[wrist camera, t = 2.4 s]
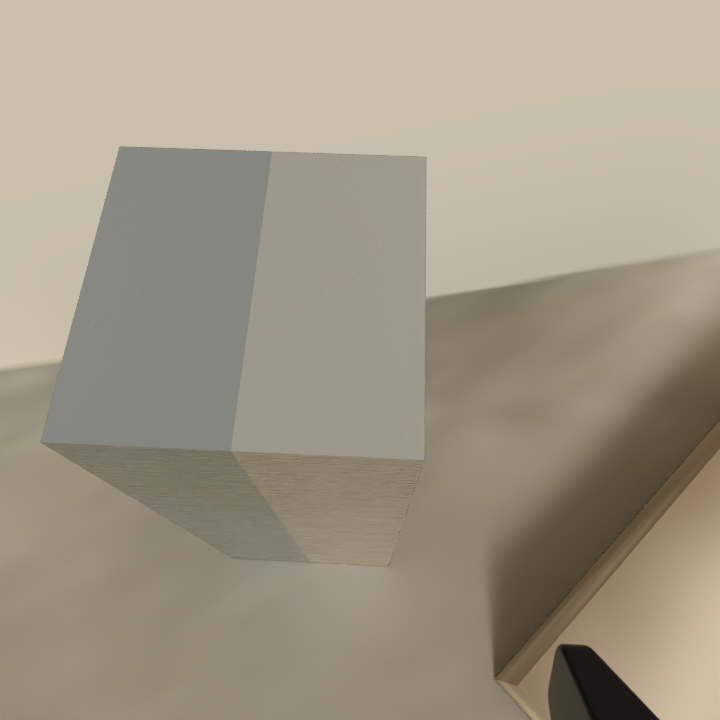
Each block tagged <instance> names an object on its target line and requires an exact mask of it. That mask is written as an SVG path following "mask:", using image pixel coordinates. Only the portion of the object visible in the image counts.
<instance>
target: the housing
mask: <svg viewBox="0 0 720 720" xmlns="http://www.w3.org/2000/svg"><path fill="white" fill-rule="evenodd" d="M425 284H426V157H415V156H386V155H355V154H327V153H296V152H267V151H238V150H209V149H206V150H205V149H179V148H178V149H177V148H150V147H119V151H118V155H117V159H116V162H115V166H114V170H113V174H112V177H111V181H110V185H109V188H108V192H107V196H106V199H105V203H104V207H103V211H102V214H101V218H100V222H99V226H98V230H97V233H96V237H95V240H94V244H93V248H92V252H91V256H90V259H89V263H88V266H87V270H86V274H85V278H84V281H83V285H82V289H81V293H80V296H79V300H78V304H77V308H76V311H75V315H74V318H73V322H72V326H71V330H70V333H69V337H68V341H67V345H66V348H65V352H64V356H63V359H62V363H61V367H60V371H59V374H58V378H57V382H56V385H55V389H54V393H53V397H52V400H51V404H50V408H49V411H48V415H47V419H46V423H45V426H44V430H43V434H42V438H41V441H40V442H41V443H42V444H44V445H46V446H47V447H49V448H51V449H52V450H54V451H56V452H57V453H59V454H61V455H62V456H64V457H65V458H67V459H69V460H70V461H72V462H74V463H75V464H77V465H79V466H80V467H82V468H84V469H85V470H87V471H89V472H90V473H92V474H94V475H95V476H97V477H99V478H100V479H102V480H104V481H105V482H107V483H109V484H110V485H112V486H114V487H115V488H117V489H119V490H120V491H122V492H124V493H125V494H127V495H129V496H130V497H132V498H134V499H135V500H137V501H139V502H140V503H142V504H144V505H145V506H147V507H149V508H150V509H152V510H154V511H155V512H157V513H158V514H160V515H162V516H163V517H165V518H167V519H168V520H170V521H172V522H173V523H175V524H177V525H178V526H180V527H182V528H183V529H185V530H187V531H188V532H190V533H192V534H193V535H195V536H197V537H198V538H200V539H202V540H203V541H205V542H207V543H208V544H210V545H212V546H213V547H215V548H217V549H218V550H220V551H222V552H223V553H225V554H227V555H228V556H230V557H232V558H237V559H256V560H276V561H296V562H316V563H336V564H355V565H375V566H388V565H389V562H390V559H391V556H392V554H393V551H394V548H395V545H396V542H397V539H398V536H399V533H400V530H401V527H402V524H403V521H404V518H405V516H406V513H407V510H408V507H409V504H410V501H411V498H412V495H413V492H414V489H415V486H416V483H417V480H418V477H419V475H420V472H421V469H422V466H423V463H424V455H425V300H426V295H425V294H426V290H425V289H426V285H425Z"/></svg>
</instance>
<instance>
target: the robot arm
mask: <svg viewBox="0 0 720 720" xmlns="http://www.w3.org/2000/svg"><path fill="white" fill-rule="evenodd" d="M548 704H549V711H550V717H551V720H660V719H659V718H658V717H657V716H656V715H655V714H654V713H653V712H652V711H651V710H650V709H649V708H648V707H647V705H646V704H645V703H644V702H643V701H642V700H641V699H640V698H639V697H638V696H637V695H636V694H635V693H634V692H633V691H632V690H631V689H630V688H629V687H628V686H627V684H626V683H625V682H624V681H623V680H622V679H621V678H620V677H619V676H618V675H617V674H616V673H615V672H614V671H613V670H612V669H611V668H610V667H609V666H608V665H607V664H606V662H605V661H604V660H603V659H602V658H601V657H600V656H599V655H598V654H597V653H596V652H595V651H594V650H593V649H592V648H590V647H589V646H587V645H578V644H560V645H558V647H557V648H556V651H555V655H554V660H553V665H552V671H551V676H550V681H549V687H548Z"/></svg>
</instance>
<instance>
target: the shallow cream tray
mask: <svg viewBox="0 0 720 720" xmlns="http://www.w3.org/2000/svg"><path fill="white" fill-rule="evenodd" d="M560 644H578V645H587V646H589V647H590V648H592V649H593V650H594V651H595V652H596V653H597V654H598V655H599V656H600V657H601V658H602V659H603V660H604V661H605V662H606V664H607V665H608V666H609V667H610V668H611V669H612V670H613V671H614V672H615V673H616V674H617V675H618V676H619V677H620V678H621V679H622V680H623V681H624V682H625V683H626V684H627V686H628V687H629V688H630V689H631V690H632V691H633V692H634V693H635V694H636V695H637V696H638V697H639V698H640V699H641V700H642V701H643V702H644V703H645V704H646V705H647V707H648V708H649V709H650V710H651V711H652V712H653V713H654V714H655V715H656V716H657V717H658V718H659V719H660V720H720V420H719V421H718V422H717V424H716V425H715V426H714V427H713V428H712V429H711V431H710V432H709V433H708V434H707V435H706V436H705V437H704V439H703V440H702V441H701V442H700V443H699V444H698V445H697V447H696V448H695V449H694V450H693V451H692V452H691V454H690V455H689V456H688V457H687V458H686V459H685V460H684V462H683V463H682V464H681V465H680V466H679V467H678V468H677V470H676V471H675V472H674V473H673V474H672V475H671V476H670V478H669V479H668V480H667V481H666V482H665V483H664V485H663V486H662V487H661V488H660V489H659V490H658V491H657V493H656V494H655V495H654V496H653V497H652V498H651V499H650V501H649V502H648V503H647V504H646V505H645V506H644V508H643V509H642V510H641V511H640V512H639V513H638V514H637V516H636V517H635V518H634V519H633V520H632V521H631V522H630V524H629V525H628V526H627V527H626V528H625V529H624V530H623V532H622V533H621V534H620V535H619V536H618V537H617V539H616V540H615V541H614V542H613V543H612V544H611V545H610V547H609V548H608V549H607V550H606V551H605V552H604V553H603V555H602V556H601V557H600V558H599V559H598V560H597V562H596V563H595V564H594V565H593V566H592V567H591V568H590V570H589V571H588V572H587V573H586V574H585V575H584V576H583V578H582V579H581V580H580V581H579V582H578V583H577V584H576V586H575V587H574V588H573V589H572V590H571V591H570V593H569V594H568V595H567V596H566V597H565V598H564V599H563V601H562V602H561V603H560V604H559V605H558V606H557V607H556V609H555V610H554V611H553V612H552V613H551V614H550V616H549V617H548V618H547V619H546V620H545V621H544V622H543V624H542V625H541V626H540V627H539V628H538V629H537V630H536V632H535V633H534V634H533V635H532V636H531V637H530V638H529V640H528V641H527V642H526V643H525V644H524V645H523V647H522V648H521V649H520V650H519V651H518V652H517V653H516V655H515V656H514V657H513V658H512V659H511V660H510V661H509V663H508V664H507V665H506V666H505V667H504V668H503V670H502V671H501V672H500V673H499V674H498V675H497V676H496V678H495V680H496V681H497V683H498V684H499V685H500V686H501V687H502V688H503V689H504V690H505V691H506V692H507V694H508V695H509V696H510V697H511V698H512V699H513V700H514V701H515V702H516V703H517V704H518V706H519V707H520V708H521V709H522V710H523V711H524V712H525V713H526V714H527V715H528V716H529V718H530V719H531V720H551V717H550V711H549V704H548V687H549V681H550V676H551V671H552V665H553V660H554V655H555V651H556V648H557V647H558V645H560Z"/></svg>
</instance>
